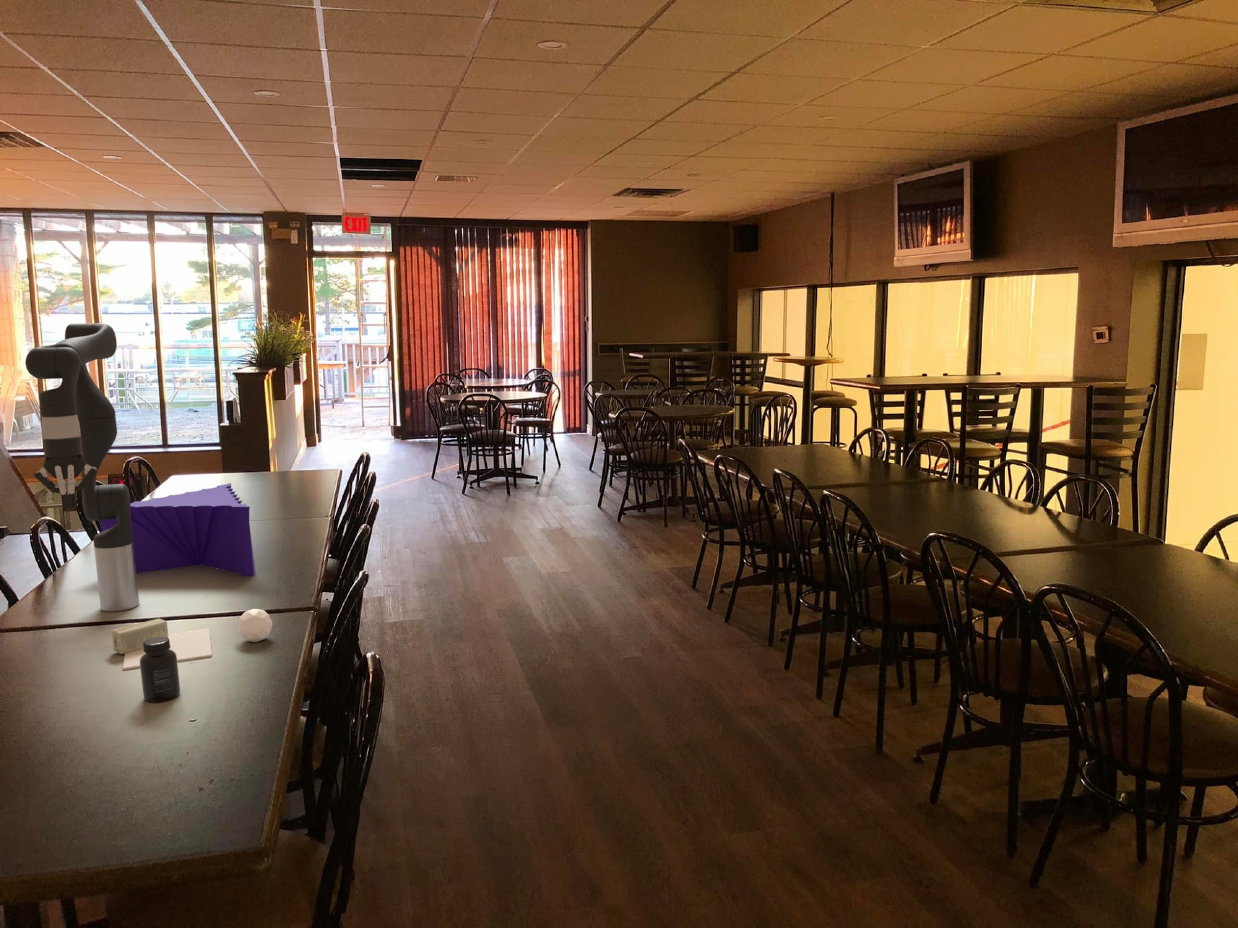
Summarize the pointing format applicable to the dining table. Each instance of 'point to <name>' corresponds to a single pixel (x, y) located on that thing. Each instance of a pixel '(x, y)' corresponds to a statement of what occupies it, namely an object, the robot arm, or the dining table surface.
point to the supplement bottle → (159, 671)
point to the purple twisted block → (192, 532)
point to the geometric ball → (254, 625)
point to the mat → (178, 648)
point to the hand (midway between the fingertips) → (69, 509)
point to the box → (138, 635)
